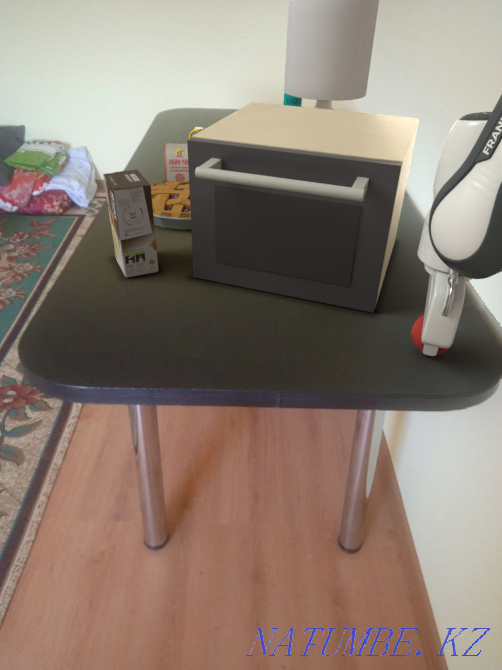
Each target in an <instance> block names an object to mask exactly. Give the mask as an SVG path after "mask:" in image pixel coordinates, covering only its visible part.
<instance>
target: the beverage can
mask: <svg viewBox="0 0 502 670" xmlns="http://www.w3.org/2000/svg"><path fill="white" fill-rule="evenodd" d="M302 103H303V98H299V97H295V96H291V95H288V94H286V93H285V92H284V94H283V104H282V105H287V106H297V107H302V105H303V104H302Z"/></svg>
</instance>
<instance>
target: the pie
mask: <svg viewBox="0 0 502 670" xmlns="http://www.w3.org/2000/svg"><path fill="white" fill-rule="evenodd" d="M151 194H152V204H153V215H154V226H155V227H160V228H163V229H172V230H181V231H184V230H191V211H190V189H189V180H184V181H182V182H175V181H174V180H172V181H167V182H166V181H165V182H164V183H160V182H158V183H157V182H156V183H151Z"/></svg>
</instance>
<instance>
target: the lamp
mask: <svg viewBox="0 0 502 670" xmlns="http://www.w3.org/2000/svg"><path fill="white" fill-rule="evenodd" d="M379 4H380V0H288V10H287V11H288V13H287V27H286V47H285V66H284V81H283V82H284V85H283V92H284V93H286V94H288V95H291V96H295V97H299V98H302V99H305V100H313V101H315V106H314V107H313V108H318V109H328V110H335V109H334V108H333V107H332V106H333V105H332V102H338V101H339V102H342V101H343V102H344V101H353V100H354V101H355V100H359V99H363V98H364V97H366V96H367V91H368V90H367V89H368V85H369V84H368V82H369V77H370V68H371V62H372V61H371V60H372V55H373V47H374V42H375V41H374V40H375V33H376V27H377V26H376V25H377V21H378V20H377V19H378V12H379Z"/></svg>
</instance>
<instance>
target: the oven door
mask: <svg viewBox="0 0 502 670" xmlns="http://www.w3.org/2000/svg"><path fill="white" fill-rule="evenodd" d="M186 144H187V146H188V168H189V189H190V211H191V229H190V230H191V231H190V232H191V251H192V275H193V278H195V279H200V280H205V281H210V282H216V283H220V284H225V285H230V286H235V287H241V288H246V289H250V290H256V291H261V292H265V293H270V294H271V293H272V294H275V295H282V296H287V297H291V298H296V299H302V300H307V301H311V302H317V303H323V304H327V305H333V306H337V307H342V308H348V309H352V310H358V311H362V312H367V313H372V314H374V313H375V309H376V307H377V304H376V301H377V302H378V300H377V295H378V290H379V285H380V279H381V274H382V269H383V264H384V258H385V253H386V248H387V243H388V237H389V232H390V227H391V222H392V216H393V211H394V206H395V200H396V195H397V190H398V185H399V179H400V174H401V169H402V164H403V163H400V162H392V161H383V160H375V159H367V158H358V157H350V156H342V155H333V154H325V153H316V152H308V151H300V150H291V149H283V148H275V147H266V146H258V145H250V144H241V143H233V142H225V141H216V140H208V139H200V138H190V139H189V138H188V139H187V140H186ZM375 306H376V307H375Z"/></svg>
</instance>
